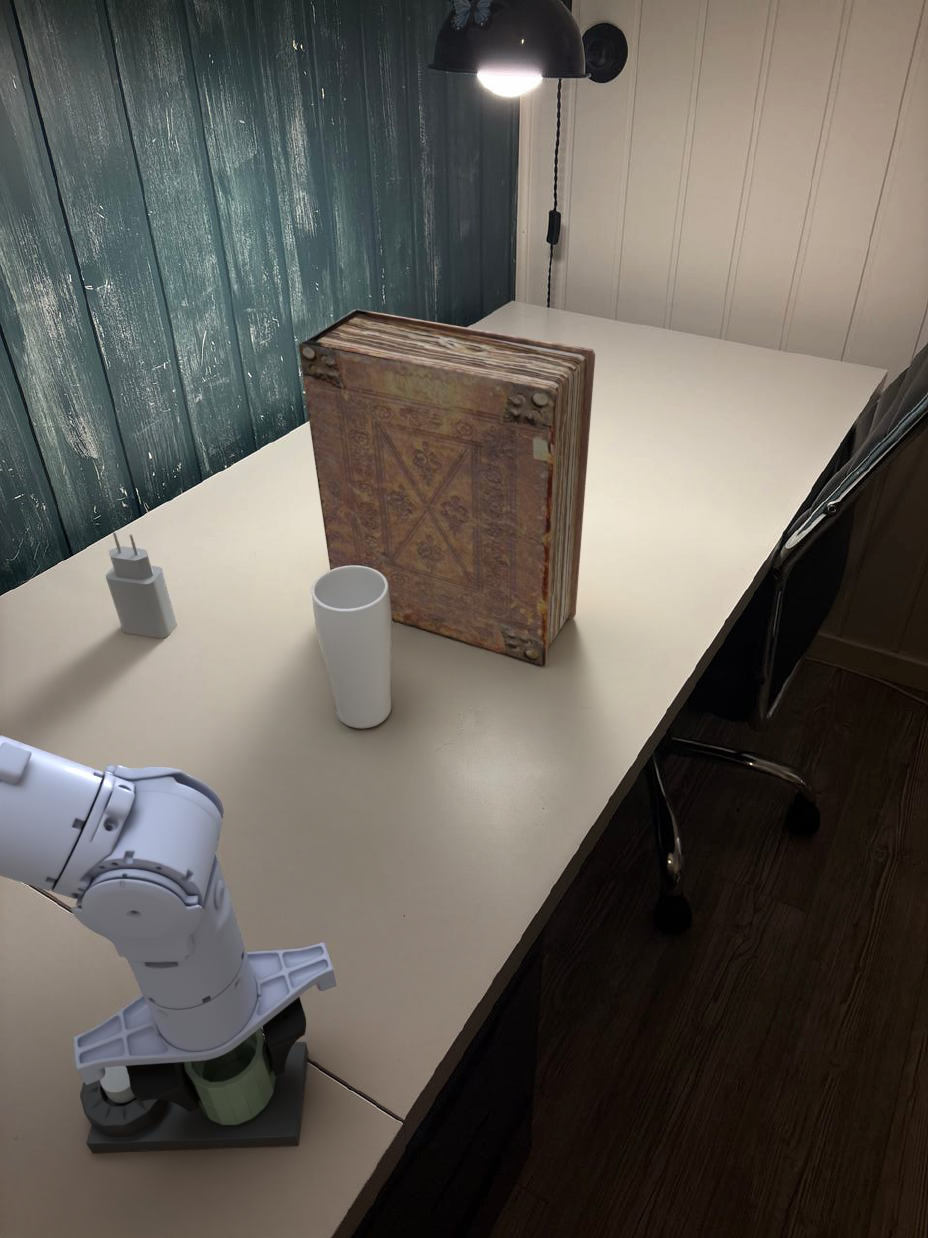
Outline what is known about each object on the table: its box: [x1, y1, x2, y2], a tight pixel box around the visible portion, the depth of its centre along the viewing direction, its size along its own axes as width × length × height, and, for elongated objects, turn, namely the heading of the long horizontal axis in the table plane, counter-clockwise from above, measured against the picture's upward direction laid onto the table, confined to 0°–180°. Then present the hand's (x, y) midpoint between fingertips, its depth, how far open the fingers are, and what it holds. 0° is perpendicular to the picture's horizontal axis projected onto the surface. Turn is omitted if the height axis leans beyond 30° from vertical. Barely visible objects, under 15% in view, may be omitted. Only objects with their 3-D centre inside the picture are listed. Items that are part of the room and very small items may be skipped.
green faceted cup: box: [183, 1027, 276, 1125], centre depth 58 cm, size 5×5×6 cm
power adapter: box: [105, 531, 178, 639], centre depth 95 cm, size 3×5×12 cm, turn 76°
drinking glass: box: [311, 565, 393, 729], centre depth 83 cm, size 7×7×15 cm
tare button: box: [100, 1066, 135, 1103], centre depth 58 cm, size 2×2×2 cm
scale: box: [79, 1041, 309, 1154], centre depth 59 cm, size 14×6×3 cm, turn 92°
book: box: [298, 308, 596, 668], centre depth 91 cm, size 25×9×30 cm, turn 63°
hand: (234, 1077), depth 58 cm, fingers closed on green faceted cup, 5 cm apart
